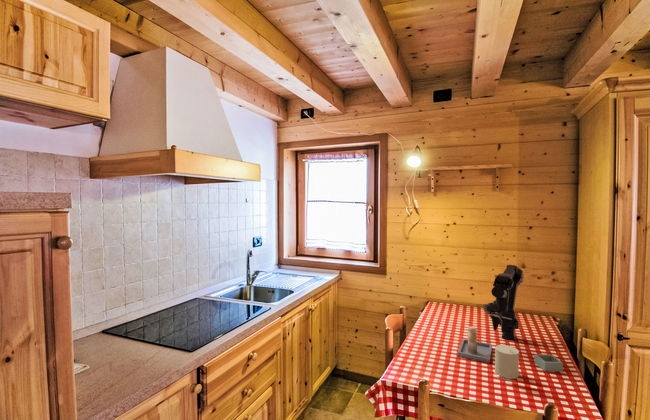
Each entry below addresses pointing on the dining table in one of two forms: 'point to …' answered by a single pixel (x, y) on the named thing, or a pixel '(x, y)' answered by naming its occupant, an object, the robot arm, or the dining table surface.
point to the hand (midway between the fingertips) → (498, 331)
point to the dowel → (472, 340)
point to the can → (506, 362)
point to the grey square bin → (548, 362)
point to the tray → (482, 351)
